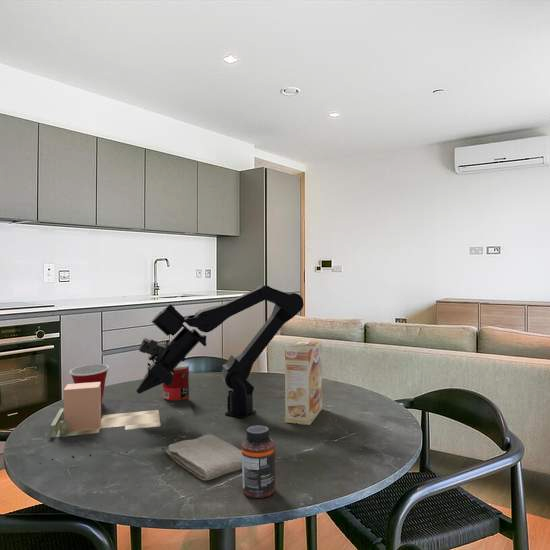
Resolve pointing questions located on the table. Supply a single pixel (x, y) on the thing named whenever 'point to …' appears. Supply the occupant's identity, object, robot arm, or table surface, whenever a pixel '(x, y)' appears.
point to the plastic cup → (90, 374)
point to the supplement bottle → (258, 463)
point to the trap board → (108, 422)
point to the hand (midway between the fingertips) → (137, 392)
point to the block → (82, 405)
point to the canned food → (178, 384)
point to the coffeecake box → (303, 382)
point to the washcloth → (206, 456)
